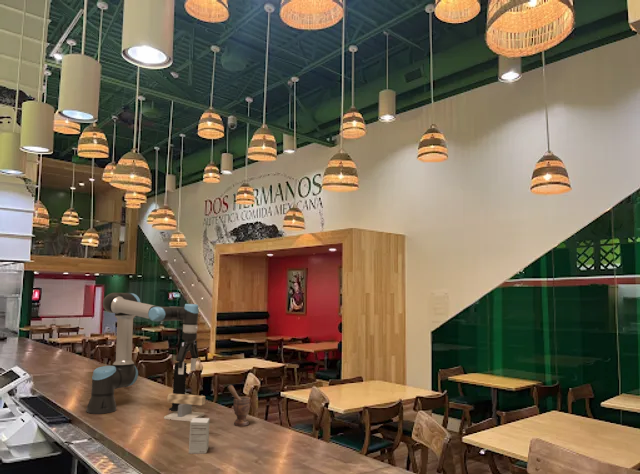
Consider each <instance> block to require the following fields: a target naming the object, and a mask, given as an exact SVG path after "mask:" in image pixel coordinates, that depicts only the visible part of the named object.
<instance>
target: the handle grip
mask: <svg viewBox="0 0 640 474" xmlns="http://www.w3.org/2000/svg"><path fill="white" fill-rule="evenodd" d="M187 364H188V363H187V362H184V373H183V374H178V368H179V362H178V361H176V362H174V367H173V371H174V372H173V382H172V383H173V385H172V387H173V388H172V393H173V394H186V385H187V384H186V383H187V368H188V367H187ZM171 404H172V406H171V407H169V409H168V411H170V410H171V412H176V411H178V405H180V403H171Z"/></svg>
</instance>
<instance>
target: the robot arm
mask: <svg viewBox="0 0 640 474" xmlns="http://www.w3.org/2000/svg"><path fill="white" fill-rule="evenodd" d="M102 300H103V301H102V307H103V309H104V310H105V311H106V312H108V313H110V314H114V317H115V318H116V319H117V322H116V323H117V325H116V326H117V327H116V349H115V361H114V362H113V363H112V365H104V366H99V367H97V368H95V369H94V370H93V372H92V376H91V378H92V379H91V394H90V398H89V401H88V404H87V406H86V413H87V412H88V414H93V415H94V414H95V415H97V414H98V415H100V414H109V413H113V412H115V411H117V402H116V399H115V390H116V389H117V390H118V389H121V388H128V387H131V386H132V385H134V384H135V383H136V381H138V377H139V370H138V369H137V368H138V367H136V365H135V362H134V361H133V358H132V356H133V355H132V354H133V333H134V332H133V331H134V329H133V328H134V318H135V317H139V318H144V319H149V320H150V321H152V322H167V321H168V322H172V321H179V322H180V321H181V322H183V324H182V332H183V333H182V337H181V339H182V340H183V341H182V342H181V343H180V346H179V347H180V348H179V351H178V354H177V357H176V362H179V368H178V374H183V373H184V363H185V361H184V360H185V358H186V356H187V354H188V352H189V354H190V355H191V359H190V367H189V368H190V371H193V372H196V367H197V359H198V358H199V349H198V341H197V336H198V333H197V332H198V321H199V313H200V312H199V305H198V304H195V303H185V304H184V306H175V305H173V306H171V305H170V306H158V305H155V304H154V305H153V304H149V303H145V302H141V299H140V297H139V296H138V295H137V294H135V293H132V292H112V293H111V292H110V293H109V294H107V295H106V296H104V298H103V299H102Z"/></svg>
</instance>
